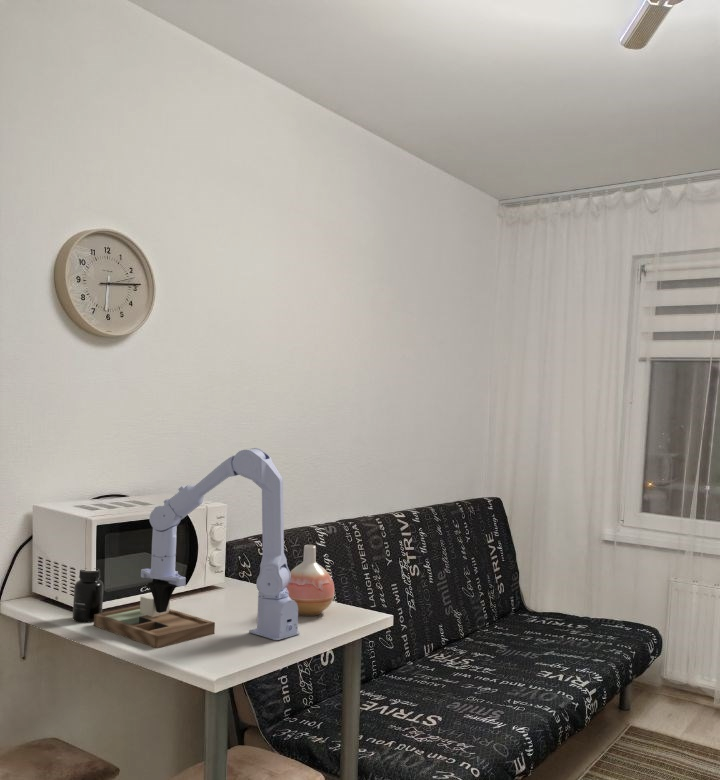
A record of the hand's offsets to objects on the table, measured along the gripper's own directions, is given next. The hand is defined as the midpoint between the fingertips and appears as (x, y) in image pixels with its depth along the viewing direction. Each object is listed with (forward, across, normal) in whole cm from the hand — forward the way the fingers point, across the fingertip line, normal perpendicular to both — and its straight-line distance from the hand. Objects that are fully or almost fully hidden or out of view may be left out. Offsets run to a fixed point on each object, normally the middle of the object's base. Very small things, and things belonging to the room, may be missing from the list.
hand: (161, 611), depth 187 cm
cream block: (+1, +4, -1) cm, 4 cm away
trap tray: (+3, -2, +4) cm, 5 cm away
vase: (+3, -18, -33) cm, 38 cm away
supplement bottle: (+3, +17, +9) cm, 19 cm away
